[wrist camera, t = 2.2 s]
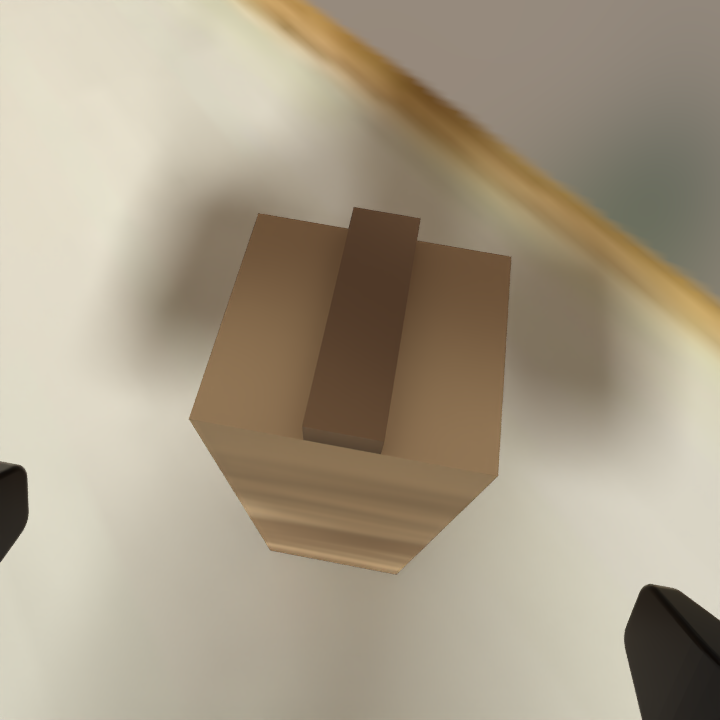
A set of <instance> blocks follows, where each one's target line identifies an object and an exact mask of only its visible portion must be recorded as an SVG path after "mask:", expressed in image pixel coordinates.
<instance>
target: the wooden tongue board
mask: <svg viewBox="0 0 720 720" xmlns="http://www.w3.org/2000/svg"><path fill="white" fill-rule="evenodd" d="M419 224H420V218H414V217H408V216H403V215H397V214H391V213H385V212H379V211H373V210H368V209H362V208H356V207H354V208H353V213H352V217H351V221H350V225H349V229H347V228H341V227H335V226H329V225H324V224H318V223H312V222H306V221H300V220H295V219H289V218H283V217H277V216H271V215H266V214H260V213H258V216H257V219H256V222H255V225H254V228H253V231H252V234H251V237H250V240H249V243H248V246H247V249H246V252H245V255H244V258H243V261H242V264H241V266H240V269H239V272H238V275H237V278H236V281H235V284H234V287H233V290H232V293H231V296H230V299H229V302H228V305H227V308H226V311H225V314H224V317H223V320H222V323H221V326H220V329H219V332H218V335H217V337H216V340H215V343H214V346H213V349H212V352H211V355H210V358H209V361H208V364H207V367H206V370H205V373H204V376H203V379H202V382H201V385H200V388H199V391H198V394H197V397H196V400H195V403H194V406H193V408H192V411H191V414H190V417H189V420H190V421H191V423H192V425H193V426H194V428H195V429H196V431H197V433H198V434H199V436H200V437H201V439H202V441H203V442H204V444H205V446H206V447H207V449H208V450H209V452H210V454H211V455H212V457H213V458H214V460H215V462H216V463H217V465H218V467H219V468H220V470H221V471H222V473H223V475H224V476H225V478H226V479H227V481H228V483H229V484H230V486H231V487H232V489H233V491H234V492H235V494H236V496H237V497H238V499H239V500H240V502H241V504H242V505H243V507H244V508H245V510H246V512H247V513H248V515H249V517H250V518H251V520H252V521H253V523H254V525H255V526H256V528H257V529H258V531H259V533H260V534H261V536H262V538H263V539H264V541H265V542H266V544H267V546H268V547H269V549H270V550H272V551H277V552H282V553H287V554H292V555H298V556H303V557H308V558H313V559H318V560H324V561H329V562H334V563H339V564H345V565H350V566H355V567H360V568H365V569H371V570H376V571H381V572H386V573H391V574H397V573H398V572H399V571H400V570H401V569H402V568H404V567H405V566H406V565H407V564H408V563H409V562H410V561H411V560H412V559H413V558H414V557H415V556H416V555H417V554H418V553H419V552H420V551H421V550H422V549H423V548H424V547H425V546H426V545H427V544H428V543H429V542H430V541H431V540H432V539H433V538H435V537H436V536H437V535H438V534H439V533H440V532H441V531H442V530H443V529H444V528H445V527H446V526H447V525H448V524H449V523H450V522H451V521H452V520H453V519H454V518H455V517H456V516H457V515H458V514H459V513H460V512H461V511H462V510H463V509H464V508H465V507H467V506H468V505H469V504H470V503H471V502H472V501H473V500H474V499H475V498H476V497H477V496H478V495H479V494H480V493H481V492H482V491H483V490H484V489H485V488H486V487H487V486H488V485H489V484H490V483H491V482H492V481H493V480H494V479H495V478H496V477H497V476H498V467H499V450H500V434H501V417H502V401H503V384H504V368H505V352H506V335H507V319H508V302H509V286H510V269H511V257H509V256H503V255H497V254H492V253H486V252H480V251H474V250H468V249H463V248H457V247H451V246H445V245H439V244H434V243H428V242H422V241H417V237H418V230H419Z"/></svg>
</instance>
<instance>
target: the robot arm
mask: <svg viewBox="0 0 720 720" xmlns="http://www.w3.org/2000/svg"><path fill="white" fill-rule="evenodd" d="M28 514H29V508H28V482H27V472H26V470H25V469H24V468H23V467H22V466H21V465H17V464H12V463H7V462H1V461H0V562H1V561H2V560H3V558H4V557H5V555H6V554H7V553H8V551H9V550H10V548H11V547H12V546H13V544H14V543H15V541H16V540H17V539H18V537H19V536H20V534H21V533H22V531H23V530H24V528H25V526H26V523H27V520H28ZM624 644H625V650H626V654H627V658H628V662H629V667H630V671H631V675H632V679H633V684H634V688H635V692H636V696H637V700H638V705H639V709H640V713H641V717H642V720H720V620H718V619H717V618H716V617H714V616H713V615H712V614H710V613H709V612H708V611H706V610H705V609H704V608H702V607H701V606H700V605H698V604H697V603H696V602H694V601H693V600H692V599H690V598H689V597H687V596H686V595H685V594H683V593H682V592H681V591H679V590H677V589H674V588H670V587H665V586H659V585H654V584H648V585H645V586H644V587H643V588H642V589H641V591H640V593H639V595H638V598H637V600H636V603H635V605H634V608H633V610H632V613H631V615H630V618H629V621H628V623H627V626H626V629H625V634H624Z"/></svg>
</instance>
